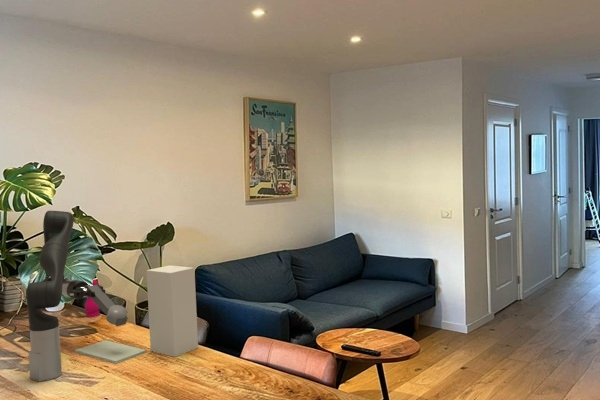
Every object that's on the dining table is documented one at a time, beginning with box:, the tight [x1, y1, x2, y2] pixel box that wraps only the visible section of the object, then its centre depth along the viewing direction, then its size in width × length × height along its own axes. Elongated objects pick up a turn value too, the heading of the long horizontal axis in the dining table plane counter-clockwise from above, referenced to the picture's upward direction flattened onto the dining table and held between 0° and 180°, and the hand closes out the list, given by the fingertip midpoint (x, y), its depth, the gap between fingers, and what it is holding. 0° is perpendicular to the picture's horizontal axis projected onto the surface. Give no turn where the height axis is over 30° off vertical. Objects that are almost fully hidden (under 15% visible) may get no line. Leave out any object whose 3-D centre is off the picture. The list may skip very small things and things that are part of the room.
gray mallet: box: [87, 285, 129, 327], centre depth 211 cm, size 7×22×4 cm
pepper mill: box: [84, 279, 101, 318], centre depth 269 cm, size 7×7×20 cm
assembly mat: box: [74, 339, 147, 365], centre depth 211 cm, size 14×26×1 cm, turn 55°
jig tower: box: [146, 264, 199, 358], centre depth 211 cm, size 12×14×32 cm
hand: (99, 293), depth 213 cm, fingers closed on gray mallet, 4 cm apart
